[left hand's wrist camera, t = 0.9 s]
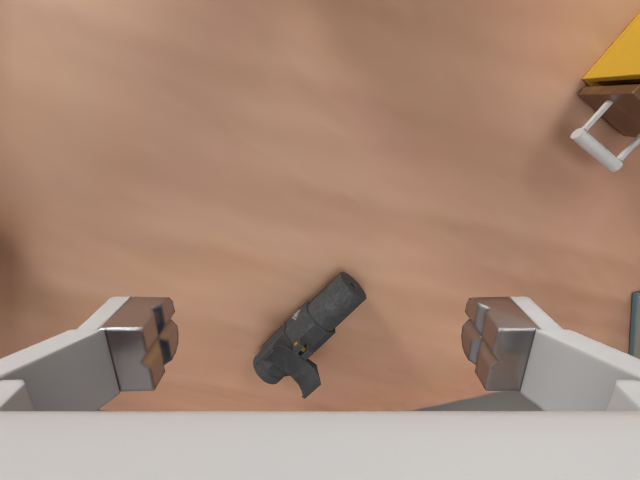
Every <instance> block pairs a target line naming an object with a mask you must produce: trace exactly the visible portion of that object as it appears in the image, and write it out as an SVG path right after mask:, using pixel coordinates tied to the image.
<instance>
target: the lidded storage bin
mask: <svg viewBox="0 0 640 480" xmlns="http://www.w3.org/2000/svg"><path fill="white" fill-rule="evenodd" d="M582 79H583V80H584V81H585V82H586V83H587V84H588V85H589V86H590V87H595V86H603V85H602V84H601V83H600V81H615V80H629V79H640V12H639V14H638V15H637V16H636V17H635V18H634V19H633V21H632V22H631V23H630V24H629V25H628V26H627V27H626V29H625V30H624V31H623V32H622V33H621V34H620V36H619V37H618V38H617V39H616V40H615V41H614V42H613V44H612V45H611V46H610V47H609V48H608V49H607V51H606V52H605V53H604V54H603V55H602V56H601V58H600V59H599V60H598V61H597V62H596V63H595V64H594V66H593V67H592V68H591V69H590V70H589V71H588V73H587V74H586V75H585V76H584V77H583V78H582Z"/></svg>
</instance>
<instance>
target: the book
mask: <svg viewBox="0 0 640 480" xmlns="http://www.w3.org/2000/svg"><path fill="white" fill-rule="evenodd" d="M629 355H631V356H634V357H636V358H638V359H640V292H636V293H633V296H632V313H631V330H630V347H629Z"/></svg>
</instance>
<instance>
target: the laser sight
mask: <svg viewBox="0 0 640 480" xmlns="http://www.w3.org/2000/svg"><path fill="white" fill-rule="evenodd" d="M365 299H366V294H365V292H364V291H363V289H362V288H361V286H360V285H359V284H358V283H357V282H356V281H355V280H354V279H353V278H352V277H350V276H349V275H348V274H346V273H343V272H341V273H340V274H339V275H338V276H337V277H336V278H335V279H334V280H333V281H332V282H331V283H330V284H329V285H328V286H327V287H326V288H325V289H324V290H323V291H322V292H321V293H320V294H319V295H318V296H317V297H316V298H315V299H314V300H313V301H312V302H306V303H305V304H304V305H303V306H302V307H301V308H300V309H299V310H298V311H297V312H296V313H295V314H294V315H293V316H292V317H291V318H290V319H289V320H288V321H287V322H286V323H285V324H284V325H283V326H282V327H281V328H280V329H279V330H278V331H277V332H276V333H275V334H274V335H273V336H272V337H271V338H270V339H269V340H268V341H267V342H266V343H265V344H264V345H263V346H262V350H261V351H260V352H259V353H258V354H257V355H256V356H255V357H254V360H253V366H254V369H255V372H256V373H257V375H258V376H259V377H260V378H261V379H262V380H263V381H265V382H266V383H268V384H276V383H278V382H279V381H280V380H281V379H282V378H283V377H284V376H289V375H290V376H291V377H292V378H293V379H294V380H295V381H296V382H297V383H298V384H299V386H300V388H301V391H302V394H303V396H302V397H303V398H304V399H305V398H306V397H307V396H308V395H310V394H311V393H312V392H313V391H314V390H315V389H316V388H317V387H319V386H320V385H321V382H320V378H319V374H318V369H317V365H316V364H315V363H313V362H312V361H310V360H309V359H308V358H309V357H310V356H311V355H312V354H313V352H315V351H316V350H317V349H318V348H319V347H320V346H321V345H323V344H324V343H325V342H326V341H327V340H328V339H329V338H330V337H331V336H332V335H333V334H334V333H335V327H336V326H337V325H339V324H340V323H341V322H342V321H343V320H344V319H345V318H346V317H347V316H348V315H349V314H350V313H351V312H353V311H354V310H355V309H356V308H357V307H358V306H359V305H360V304H361V303H362V302H363V301H364V300H365Z"/></svg>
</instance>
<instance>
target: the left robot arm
mask: <svg viewBox="0 0 640 480" xmlns="http://www.w3.org/2000/svg"><path fill="white" fill-rule="evenodd" d="M174 312H175V310H174V305H173V301H172V300H171V299H170V298H169V297H132V296H126V297H111V298H110V299H109V300H108V301H107V302H106V303H105V304H104V305H102V306H101V307H100V308H99V309H98V310H97V311H96V312H95V313H94V314H93V315H92V316H91V317H90V318H89V319H87V320H86V321H85V322H84V323H83V324H82V325H81V326H80V327H79V328H78V329H77V330H68V331H66V332H64V333H61V334H59V335H56V336H54V337H52V338H49V339H47V340H44V341H42V342H40V343H37V344H35V345H32V346H30V347H28V348H25V349H23V350H21V351H18V352H16V353H13V354H11V355H9V356H6V357H4V358H1V359H0V480H640V359H638V358H636V357H634V356H631V355H629V354H627V353H624V352H622V351H619V350H617V349H615V348H612V347H610V346H607V345H605V344H603V343H600V342H598V341H595V340H593V339H591V338H588V337H586V336H584V335H581V334H579V333H576V332H574V331H572V330H563V329H562V328H561V327H560V326H559V325H558V324H557V323H556V322H555V321H554V320H553V319H552V318H550V317H549V316H548V315H547V314H546V313H545V312H544V311H543V310H542V309H541V308H540V307H539V306H538V305H537V304H535V303H534V302H533V301H532V300H531V299H530V298H528V297H525V296H519V297H480V298H469V300H468V302H467V304H466V309H465V312H466V314H467V315H468V317H469V318H470V319H469V320H468V321H467V322H466V323H465V324H464V325H463V328H462V335H461V337H462V347H463V350H464V353H465V355H466V357H467V359H468V360H469V361H471V362H472V363H474V364H475V365H476V368H475V373H476V375H477V376H478V378H479V380H480V381H481V383H482V385H483V387H484V388H485V390H486V391H520V393H521V394H522V395H523V396H525V397H526V398H527V399H529V400H530V401H531V402H532V403H534V404H535V405H536V406H538V407H539V408H540V409H542V410H543V411H97V410H98V409H100V408H101V407H102V406H104V405H105V404H106V403H108V402H109V401H110V400H112V399H113V398H114V397H116V396H117V395H118V394H120V391H154V390H155V388H156V387H157V385H158V383H159V381H160V380H161V378H162V376H163V375H164V373H165V368H164V365H165V364H166V363H168V362H169V361H171V360H172V359H173V357H174V355H175V353H176V350H177V346H178V327H177V325H176V324H175V323H174V322H173V321H172V320H171V319H170V318H171V317H172V315H173V314H174Z"/></svg>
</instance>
